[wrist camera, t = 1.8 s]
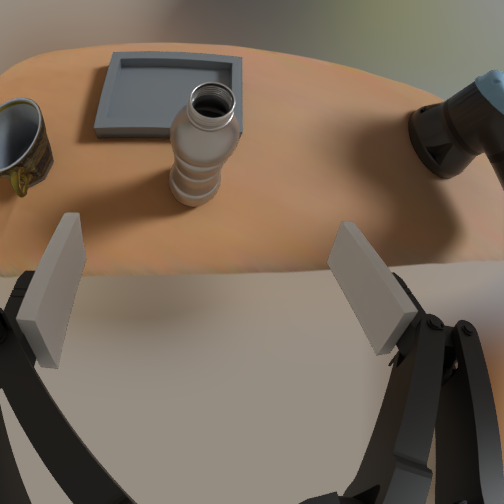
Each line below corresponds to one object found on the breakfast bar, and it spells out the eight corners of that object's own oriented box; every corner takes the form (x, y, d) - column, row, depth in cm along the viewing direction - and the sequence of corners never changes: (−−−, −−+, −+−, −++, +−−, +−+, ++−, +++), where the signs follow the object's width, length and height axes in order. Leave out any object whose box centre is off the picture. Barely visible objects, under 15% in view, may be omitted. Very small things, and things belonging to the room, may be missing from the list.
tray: (238, 68, 46) (242, 57, 43) (238, 142, 44) (242, 132, 41) (115, 64, 41) (113, 52, 38) (97, 138, 39) (93, 127, 36)
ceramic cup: (2, 151, 35) (-27, 121, 25) (57, 122, 38) (37, 84, 28) (16, 228, 35) (-20, 210, 25) (76, 198, 37) (52, 170, 28)
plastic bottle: (163, 205, 40) (158, 127, 21) (175, 158, 41) (183, 60, 22) (211, 215, 41) (246, 147, 22) (222, 168, 43) (260, 78, 23)
